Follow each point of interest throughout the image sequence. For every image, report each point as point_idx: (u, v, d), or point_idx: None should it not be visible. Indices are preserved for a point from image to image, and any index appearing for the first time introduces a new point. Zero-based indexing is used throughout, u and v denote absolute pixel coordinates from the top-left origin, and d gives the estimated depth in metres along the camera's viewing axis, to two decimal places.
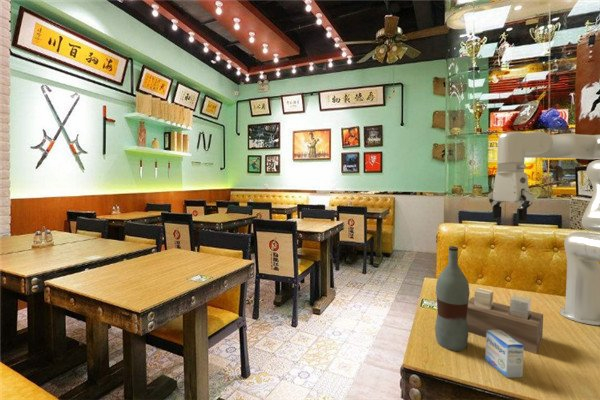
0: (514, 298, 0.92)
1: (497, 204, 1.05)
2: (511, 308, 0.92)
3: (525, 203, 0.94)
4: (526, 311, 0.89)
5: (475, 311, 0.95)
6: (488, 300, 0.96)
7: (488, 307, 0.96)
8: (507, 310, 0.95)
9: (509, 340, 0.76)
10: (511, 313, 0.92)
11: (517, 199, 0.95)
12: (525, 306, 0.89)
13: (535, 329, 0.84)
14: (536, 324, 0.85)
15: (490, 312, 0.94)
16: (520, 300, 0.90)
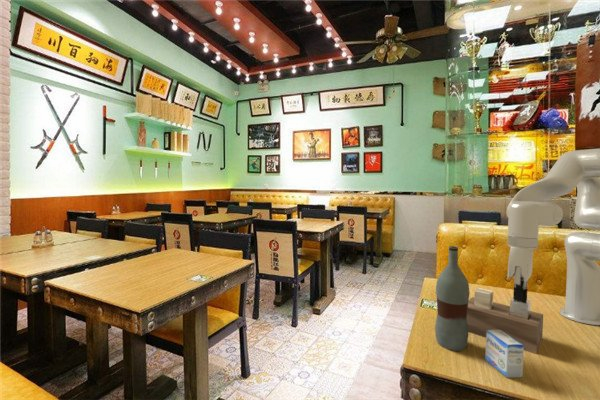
0: None
1: (519, 284, 0.91)
2: (511, 310, 0.92)
3: None
4: (526, 312, 0.89)
5: (475, 311, 0.95)
6: (488, 300, 0.96)
7: (488, 307, 0.96)
8: (507, 310, 0.95)
9: (509, 340, 0.76)
10: (511, 314, 0.92)
11: None
12: (525, 307, 0.89)
13: (535, 329, 0.84)
14: (536, 324, 0.85)
15: (490, 312, 0.94)
16: (520, 302, 0.90)
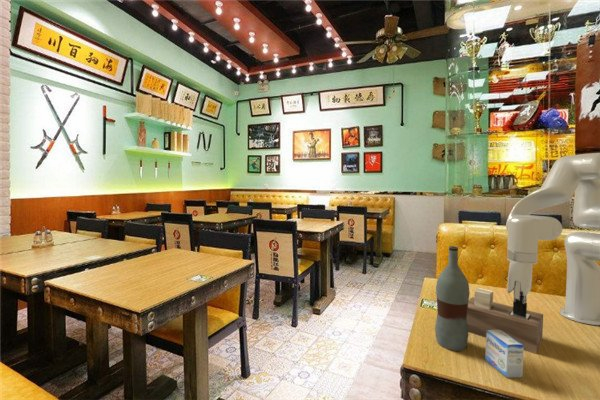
0: None
1: None
2: None
3: None
4: None
5: (475, 311, 0.95)
6: (488, 300, 0.96)
7: (488, 307, 0.96)
8: (507, 310, 0.95)
9: (509, 340, 0.76)
10: None
11: None
12: None
13: (535, 329, 0.84)
14: (536, 324, 0.85)
15: (490, 312, 0.94)
16: (519, 316, 0.91)
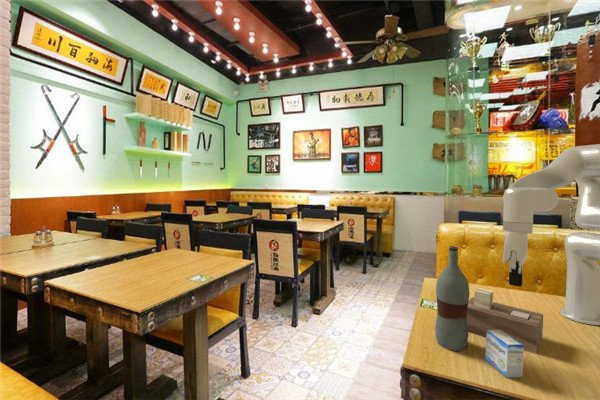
0: (513, 313, 0.93)
1: None
2: None
3: None
4: None
5: (475, 311, 0.95)
6: (488, 300, 0.96)
7: (488, 307, 0.96)
8: (507, 310, 0.95)
9: (509, 340, 0.76)
10: None
11: None
12: None
13: (535, 329, 0.84)
14: (536, 324, 0.85)
15: (490, 312, 0.94)
16: (519, 316, 0.91)
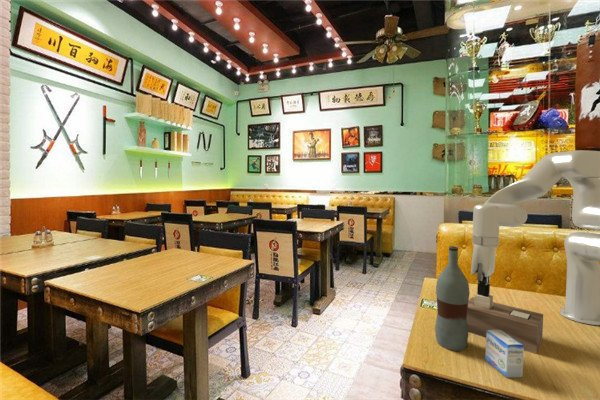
0: (513, 313, 0.93)
1: None
2: None
3: None
4: None
5: (475, 311, 0.95)
6: (488, 304, 0.96)
7: None
8: (507, 310, 0.95)
9: (509, 340, 0.76)
10: None
11: None
12: None
13: (535, 329, 0.84)
14: (536, 324, 0.85)
15: (490, 312, 0.94)
16: (519, 316, 0.91)
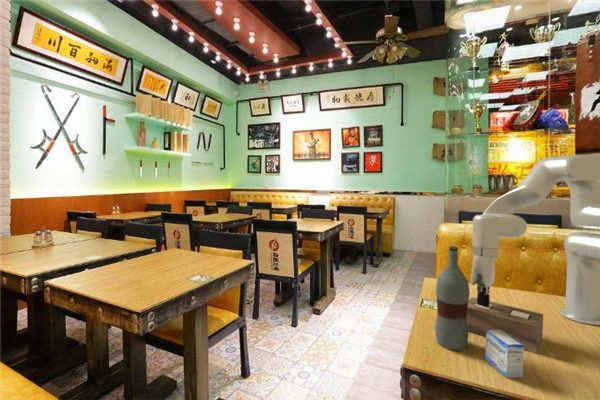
0: (513, 313, 0.93)
1: None
2: None
3: None
4: None
5: (475, 311, 0.95)
6: None
7: None
8: (507, 310, 0.95)
9: (509, 340, 0.76)
10: None
11: None
12: None
13: (535, 329, 0.84)
14: (536, 324, 0.85)
15: (490, 312, 0.94)
16: (519, 316, 0.91)
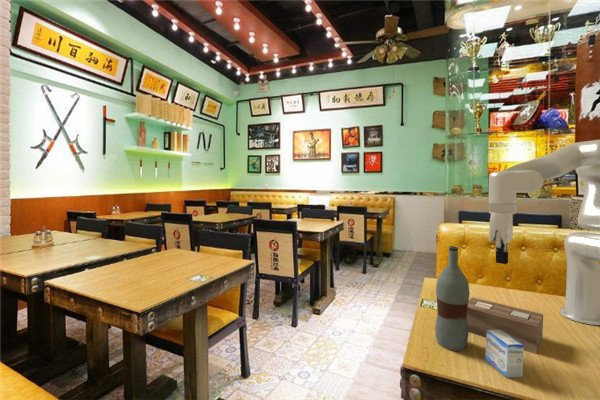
0: (513, 313, 0.93)
1: (500, 248, 0.98)
2: None
3: None
4: None
5: (475, 311, 0.95)
6: None
7: None
8: (507, 310, 0.95)
9: (509, 340, 0.76)
10: None
11: None
12: None
13: (535, 329, 0.84)
14: (536, 324, 0.85)
15: (490, 312, 0.94)
16: (519, 316, 0.91)
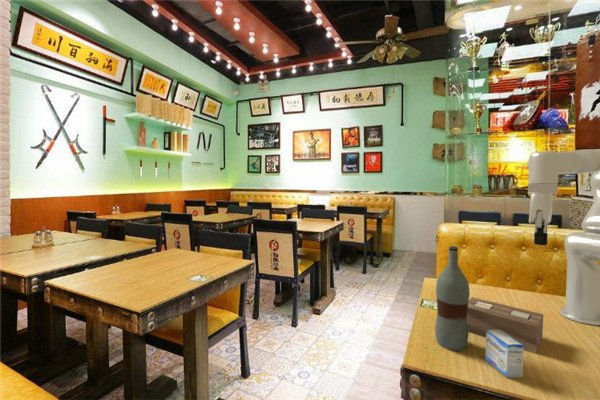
0: (513, 313, 0.93)
1: None
2: None
3: None
4: None
5: (475, 311, 0.95)
6: None
7: None
8: (507, 310, 0.95)
9: (509, 340, 0.76)
10: None
11: None
12: None
13: (535, 329, 0.84)
14: (536, 324, 0.85)
15: (490, 312, 0.94)
16: (519, 316, 0.91)
